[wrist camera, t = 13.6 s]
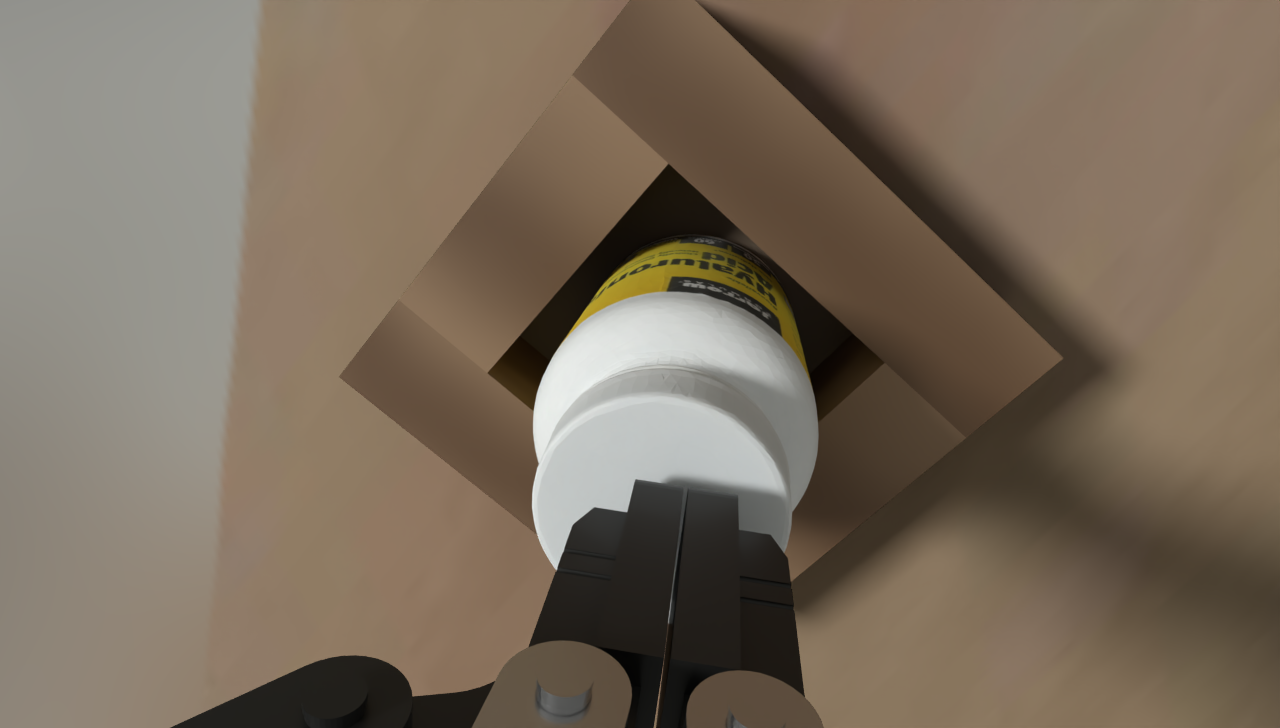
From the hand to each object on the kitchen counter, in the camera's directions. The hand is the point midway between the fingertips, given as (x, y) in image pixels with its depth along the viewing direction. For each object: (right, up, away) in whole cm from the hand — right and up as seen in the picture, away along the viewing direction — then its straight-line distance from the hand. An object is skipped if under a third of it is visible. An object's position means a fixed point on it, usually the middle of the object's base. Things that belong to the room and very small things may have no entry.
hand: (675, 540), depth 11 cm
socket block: (+1, +4, +10) cm, 11 cm away
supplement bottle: (+1, +4, +10) cm, 10 cm away
